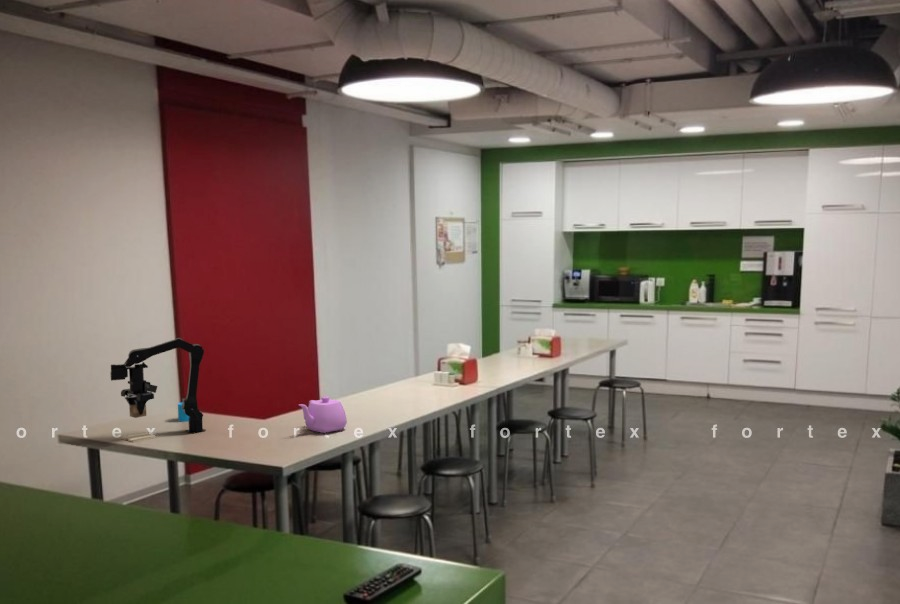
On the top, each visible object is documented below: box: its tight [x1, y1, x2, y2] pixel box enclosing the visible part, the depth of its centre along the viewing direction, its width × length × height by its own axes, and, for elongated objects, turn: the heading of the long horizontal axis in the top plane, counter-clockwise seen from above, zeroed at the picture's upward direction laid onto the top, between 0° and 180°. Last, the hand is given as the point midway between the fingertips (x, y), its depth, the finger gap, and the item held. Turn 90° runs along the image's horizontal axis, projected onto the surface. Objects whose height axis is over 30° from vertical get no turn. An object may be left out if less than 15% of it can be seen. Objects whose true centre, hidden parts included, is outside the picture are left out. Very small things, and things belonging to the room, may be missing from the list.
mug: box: [177, 402, 189, 423], centre depth 351 cm, size 12×8×8 cm
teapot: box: [298, 395, 348, 434], centre depth 323 cm, size 23×21×15 cm
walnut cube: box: [128, 403, 147, 419], centre depth 313 cm, size 5×5×5 cm
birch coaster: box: [121, 432, 156, 443], centre depth 314 cm, size 10×10×1 cm
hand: (138, 413), depth 313 cm, fingers closed on walnut cube, 5 cm apart
